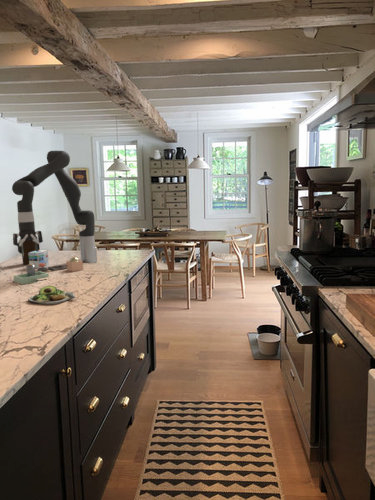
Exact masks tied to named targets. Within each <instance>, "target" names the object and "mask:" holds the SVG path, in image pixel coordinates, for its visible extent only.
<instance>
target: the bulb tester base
mask: <svg viewBox="0 0 375 500" xmlns="http://www.w3.org/2000/svg"><path fill="white" fill-rule="evenodd" d="M36 269H37V270H36ZM36 269H35V272H38V271H41V272H45V273H51V272H52V273H53V272H57V271H62V270H63V271H64V270H67V265H62V264H60V265H59V264H57V265H53V266H48V267H47V266H45V267H42V268H36Z"/></svg>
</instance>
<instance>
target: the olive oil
mask: <svg viewBox="0 0 375 500" xmlns="http://www.w3.org/2000/svg"><path fill="white" fill-rule="evenodd" d="M20 238H21V237H20V236H19V239H20ZM35 238H36V239H37V240H38V235H37V234H36V235H35ZM35 244H36V243H35V242H34V241H33V240H28V241H24V243H23V244H22V245H21V246H22V254H21V258H22V259H21V260H22V265H24V266H26V265H29V254H28V253H30V252H33V251H36V248H35Z"/></svg>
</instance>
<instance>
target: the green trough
mask: <svg viewBox="0 0 375 500" xmlns="http://www.w3.org/2000/svg"><path fill="white" fill-rule="evenodd" d="M48 277H49V272H47V273H45V272H41V271H38V272H35V276H30V277H27V272H26V273H22V274H16V275H13V281H14V282H15V283H17V284H20V285H26V284H33V283H38V282H43V281H47V280H48V279H47V278H48ZM44 278H45V279H44ZM40 279H41V280H40Z"/></svg>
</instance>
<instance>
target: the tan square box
mask: <svg viewBox="0 0 375 500" xmlns="http://www.w3.org/2000/svg"><path fill="white" fill-rule="evenodd" d="M83 263H84V262H83V261H82V260H81V259H78V261H75V262H71V259H70V260H66V267H67V269H66V270H67V271H69V272H77V271H78V272H79V271H83V270H84V266H83V265H84V264H83Z"/></svg>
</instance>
